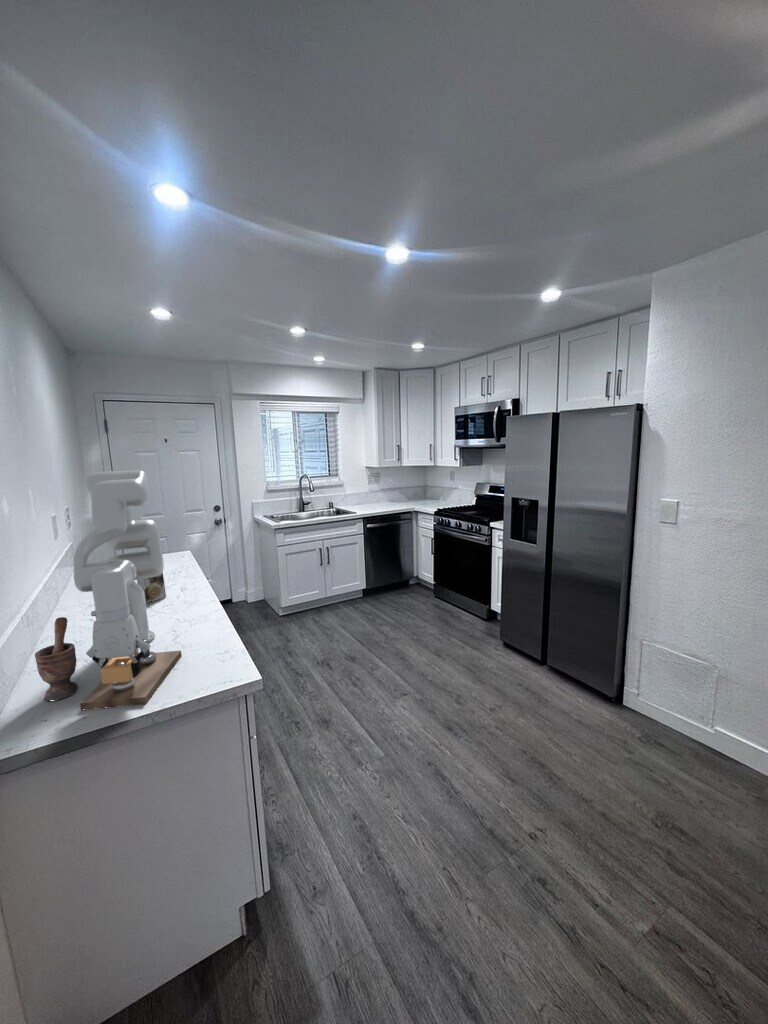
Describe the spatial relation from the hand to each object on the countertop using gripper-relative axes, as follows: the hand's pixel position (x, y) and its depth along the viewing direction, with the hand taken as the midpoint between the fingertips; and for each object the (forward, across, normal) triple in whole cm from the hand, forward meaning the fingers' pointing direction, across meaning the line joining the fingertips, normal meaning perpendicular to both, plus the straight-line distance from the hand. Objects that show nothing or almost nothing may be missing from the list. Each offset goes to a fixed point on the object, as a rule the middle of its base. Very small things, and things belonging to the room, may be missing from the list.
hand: (122, 675), depth 115 cm
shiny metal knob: (+3, 0, +14) cm, 14 cm away
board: (+5, 0, +7) cm, 9 cm away
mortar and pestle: (+6, -19, +5) cm, 20 cm away
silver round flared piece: (+3, 0, 0) cm, 3 cm away
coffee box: (+6, -25, +80) cm, 84 cm away
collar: (0, 0, 0) cm, 0 cm away
